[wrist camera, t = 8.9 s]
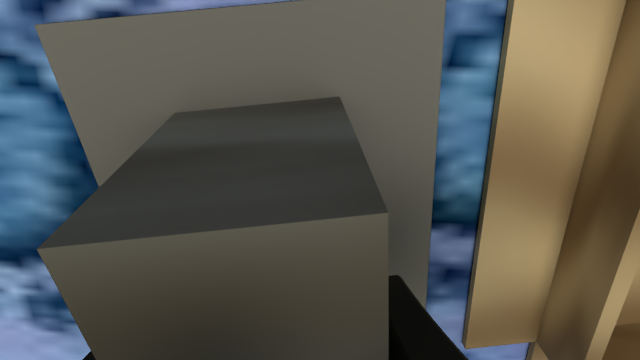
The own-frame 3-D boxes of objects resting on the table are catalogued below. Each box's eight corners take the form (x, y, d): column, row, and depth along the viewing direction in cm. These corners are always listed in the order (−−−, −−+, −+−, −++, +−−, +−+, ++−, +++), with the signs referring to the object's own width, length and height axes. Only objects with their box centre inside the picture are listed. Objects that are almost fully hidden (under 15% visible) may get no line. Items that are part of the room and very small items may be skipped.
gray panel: (417, 354, 16) (421, 366, 15) (184, 378, 16) (180, 392, 15) (438, -13, 10) (447, -13, 9) (48, 23, 9) (34, 24, 9)
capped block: (354, 329, 14) (388, 532, 9) (236, 341, 14) (199, 554, 9) (339, 96, 10) (388, 212, 5) (174, 112, 10) (36, 249, 5)
